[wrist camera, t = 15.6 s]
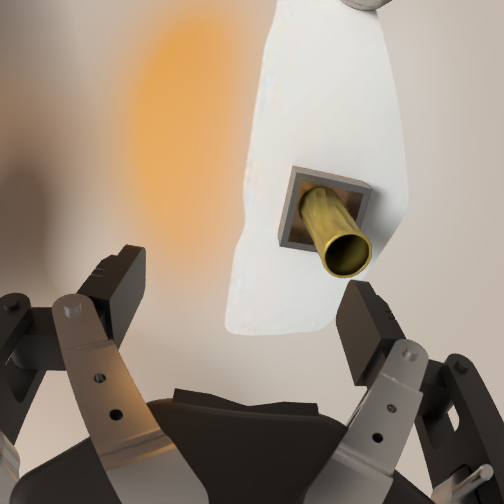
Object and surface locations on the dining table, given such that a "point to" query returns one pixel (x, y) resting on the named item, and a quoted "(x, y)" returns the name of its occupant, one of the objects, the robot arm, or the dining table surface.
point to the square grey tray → (301, 183)
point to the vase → (334, 233)
